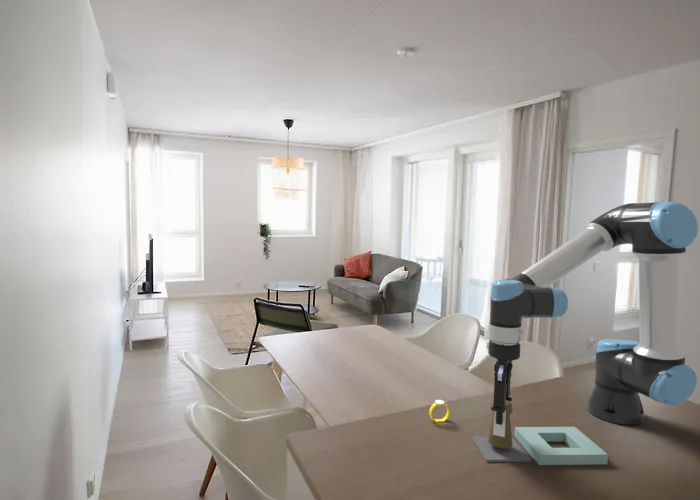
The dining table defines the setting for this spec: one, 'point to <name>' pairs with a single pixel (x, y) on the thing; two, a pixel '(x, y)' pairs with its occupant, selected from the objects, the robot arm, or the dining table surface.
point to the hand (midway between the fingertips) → (500, 430)
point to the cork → (507, 440)
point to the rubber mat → (500, 451)
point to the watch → (439, 403)
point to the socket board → (544, 454)
